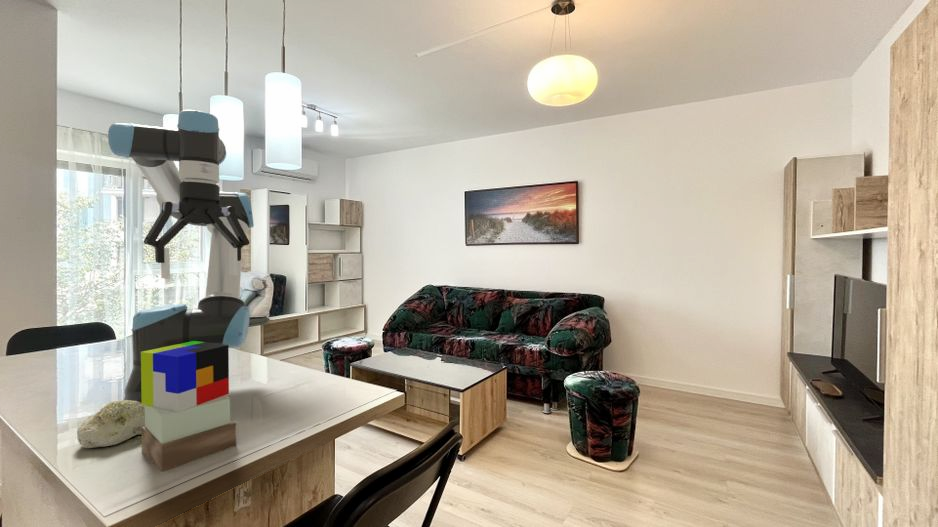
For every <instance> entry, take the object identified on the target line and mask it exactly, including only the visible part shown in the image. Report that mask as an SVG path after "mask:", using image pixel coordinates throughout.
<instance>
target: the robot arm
mask: <svg viewBox="0 0 938 527" xmlns="http://www.w3.org/2000/svg"><path fill="white" fill-rule="evenodd" d="M219 132H220V127H219V119H218V118H217V116H215V115H214V114H211V113H209V112H206V111H202V110H193V109H184V110H181V111H180V112H179V113H178V120H177V127H176V128H170V127H169V128H168V127H162V126H161V127H160V126H153V125H152V126H151V125H142V124H135V123H120V122H114V123H112V124H111V125H110V126H109V128H108V131H107V140H108V146H109V148H110V151H111V152H112V153H113V155H115V156H117V157H124V158H127V159H128V158H132V161H133V162H134V163H135V164H136V166H137V167H138V168H139V170H140V171H141V173H142V174H143V176H144V177H145V179H146V181H147V182H148V184H149V185H150V187H151V188H152V189H153V191H154V192H155V194H156V201H157V203H158V205H159V206H160V207H161V208H160V209H161V210H160V213H159V215H158V216H157V218H156V219H155V221H154V223H153V224H152V226H151V228H150V230H149V231H148V233H147V234H146V236H145V238H144V240H143V243H144V244H145V245H148V246H151V247H153V248H154V255H155V256H154V258H155V262H156V263H157V264H160V269H161V270H160V276H161V279H166V280H168V279H171V274H170V273H171V271H170V270H171V262H170V261H171V259H170V248H169V247H166V245H168V244H169V243H170V242H171V240H173V239H174V238H175V237H176V235H178V234H179V233H180V232H181V231H182V230H184V228H185V227H186V226H188V225H191V226H196V227H197V226H198V227H206V228H207V230H208V231H209V232H210V233H211V238H210V247H209V249H210V250H209V256H208V258H209V260H208V270H207V278H206V289H205V296H204V297H203V298H201V299H200V300H199V301H198V305H197V308H191V309H190V308H189V307H188V306H187V304H186V303H179V304H178V303H176V304H169V305H163V306H158V307H157V306H156V307H151V308H146V309H142V310H140V311H138V312H136V313H134V315H133V316H132V328H131V332H132V333H131V334H132V368H131V373H130V375H129V377H128V379H127V383H126V385H125V387H124V400H133V401H138V402H140V403H142V397H141V352H143V351H148V350H152V349H157V348H162V347H167V346H172V345H177V344H181V343H186V342H191V341H198V342H207V343H216V344H225V345H228V347H229V349H234V348H240V347H241V346H242V345H244V343H246V340H247V335H248V332H249V327H250V319H251V318H250V317H251V310H250V307H249V306H246V303H245V301H244V300H243V299H242V298H241V297H240V292H241V291H240V290H241V273H242V257H243V255H242V254H243V247H245V246H248V245H250V240H249V238H248V237H247V234H248V233H249V229H251V228H253V227H254V226H255V224H254V218H253V210H252V200H251V197H250V195H249V194H248V193H245V192H237V191H233V192H232V191H231V192H230V191H220V189H221V188H220V186H219V185H218V184H219V183H220V165H221V164H223V162H224V161H225V159H226V157H227V150H226V146H225V143H224V142H223V141H222V139H221V138H220V136H219V135H220V134H219ZM175 162H178V168H177V166H176V164H175ZM171 217H172V218H174V219H175V220H176V222H175V223H174V224H173V225H172V226H171V227H170V228H169V229H168V230H167V231H166V232H165V233H163V235H161V237H159V235H160V234H161V232H163V229H164V227H165V226H166V224H167V222H168V221H169V219H170V218H171ZM158 237H159V238H158ZM157 239H158V240H157Z"/></svg>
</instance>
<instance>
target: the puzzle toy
mask: <svg viewBox="0 0 938 527" xmlns="http://www.w3.org/2000/svg"><path fill="white" fill-rule="evenodd" d="M229 350H230V348H229V347H228V345H225V344H216V343H207V342H198V341H191V342H186V343H181V344H177V345H172V346H167V347H162V348H157V349H152V350H148V351H143V352H141V397H142V402H141V403H142V405H146V406H151V407H156V408H161V409H165V410H170V411H175V412H180V411H183V410H186V409H188V408H191V407H194V406H197V405H199V404H202V403H205V402H208V401H210V400H213V399H216V398H219V397H221V396H224V395H225V396H227V395H229V394H230V380H229V379H230V375H229V372H230V371H229V370H230V369H229V368H230V366H229V364H230V363H229V362H230V361H229V360H230V359H229V358H230V357H229V355H230V354H229Z"/></svg>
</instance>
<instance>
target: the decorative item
mask: <svg viewBox="0 0 938 527" xmlns="http://www.w3.org/2000/svg"><path fill="white" fill-rule="evenodd" d="M144 426H145V405H142V402H138V401H133V400H126V399H123V400H117V401H112V402H109V403H108V404H106V405H104V406H103V407H101V409H100V410H99V411H98V412H96V413H95V414H93V415H91V416H88V418H86V420H84V421H83V422H82V423H81V425H80V426H79V427H78V428H77V431H76V434H77V441H78V443H79V445H81V447H83V448H85V449H94V448H99V447H109V446H115V445H118V444H120V443H122V442H125V441H128V440H129V439H131V438H132V437H135V436H140V435H141V436H142V427H144Z"/></svg>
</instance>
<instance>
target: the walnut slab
mask: <svg viewBox="0 0 938 527" xmlns="http://www.w3.org/2000/svg"><path fill="white" fill-rule="evenodd" d="M236 445H237V423H236V422H235V421H233V419H231V418H230V423H229V424H226V425H223V426H219V427H216V428H213V429H210V430H206V431H203V432H200V433H196V434H193V435H190V436H187V437H183V438H180V439H177V440H173V441H170V442H167V443H164V444H161V443H160V442H159V441H158V440H157V439H156V438H155V436H154V435H153V434H152V433H151V432H150V431H149V430H148V429H147V428H146V427H145V426H144V427H142V435H141V451H142V453H144V455H145V456H146V457H147V458H148V459H150V461H152V463H153V464H154V465H155V466H156V467H157V468H158V469H159V470H160V471H161V472H165V471H168V470H169V471H170V470H171V469H174V468H177V467H179V466H182V465H185V464H187V463H191V462H193V461H197V460H199V459H202V458H204V457H208V456H210V455H213V454H216V453H219V452H221V451H224V450H226V449H229V448H233V447H235V446H236Z"/></svg>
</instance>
